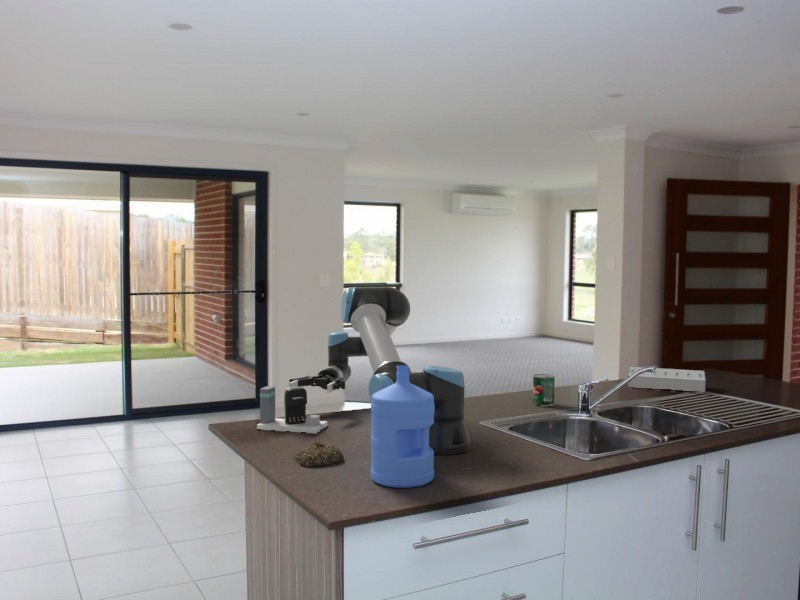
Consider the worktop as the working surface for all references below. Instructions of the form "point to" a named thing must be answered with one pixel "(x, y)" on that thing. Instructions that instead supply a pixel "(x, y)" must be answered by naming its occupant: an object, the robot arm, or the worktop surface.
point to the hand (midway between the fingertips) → (308, 388)
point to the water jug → (402, 434)
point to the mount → (279, 424)
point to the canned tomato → (543, 389)
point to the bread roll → (319, 455)
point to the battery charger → (295, 405)
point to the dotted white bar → (669, 379)
